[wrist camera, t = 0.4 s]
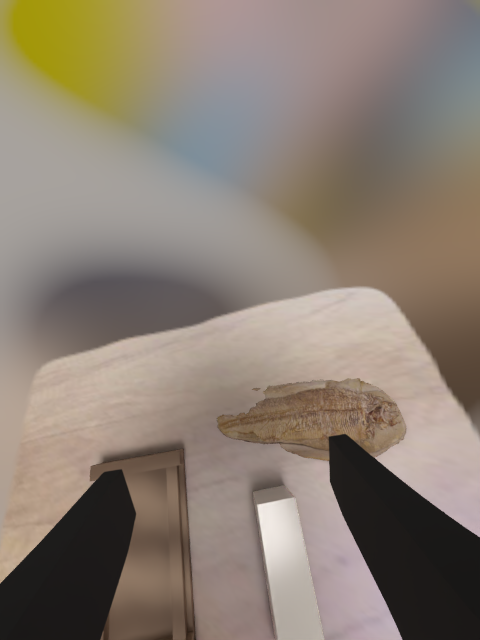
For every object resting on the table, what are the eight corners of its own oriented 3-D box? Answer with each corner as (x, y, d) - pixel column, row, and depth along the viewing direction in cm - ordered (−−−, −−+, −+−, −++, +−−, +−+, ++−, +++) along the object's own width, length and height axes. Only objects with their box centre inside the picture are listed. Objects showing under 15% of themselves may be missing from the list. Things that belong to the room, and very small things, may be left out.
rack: (195, 644, 26) (191, 670, 23) (93, 669, 25) (76, 699, 22) (183, 448, 33) (179, 450, 30) (102, 462, 32) (90, 466, 29)
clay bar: (311, 627, 27) (332, 680, 21) (274, 637, 26) (286, 693, 21) (283, 484, 32) (295, 497, 26) (252, 491, 31) (256, 504, 26)
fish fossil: (215, 466, 32) (215, 467, 31) (213, 386, 37) (212, 384, 36) (412, 449, 33) (417, 449, 32) (385, 373, 38) (389, 371, 37)
